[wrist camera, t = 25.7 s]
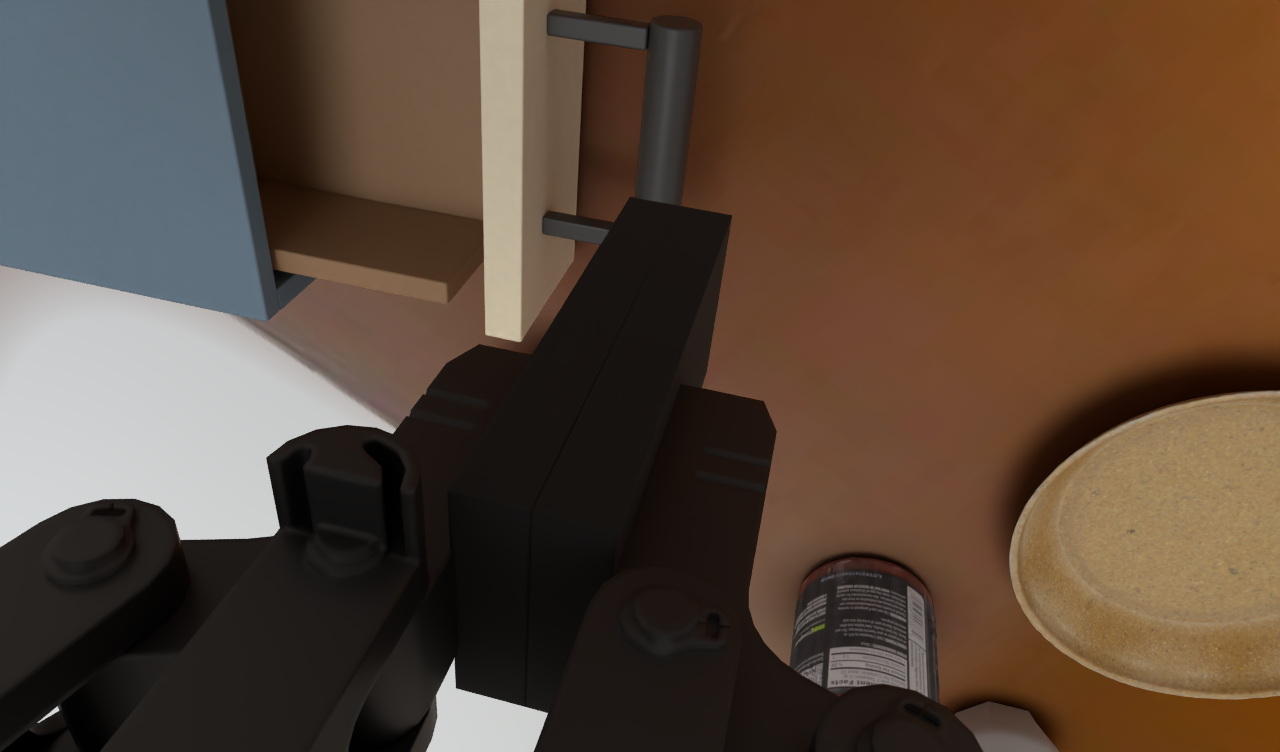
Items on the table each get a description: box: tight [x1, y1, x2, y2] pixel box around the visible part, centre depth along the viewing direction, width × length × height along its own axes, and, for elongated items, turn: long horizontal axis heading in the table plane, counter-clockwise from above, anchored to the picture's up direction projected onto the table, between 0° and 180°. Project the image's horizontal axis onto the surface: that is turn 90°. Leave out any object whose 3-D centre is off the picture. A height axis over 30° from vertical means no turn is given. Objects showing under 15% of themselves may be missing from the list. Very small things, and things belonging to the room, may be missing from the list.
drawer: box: [225, 0, 703, 342], centre depth 27 cm, size 17×12×6 cm
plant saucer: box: [1009, 390, 1280, 699], centre depth 32 cm, size 15×15×3 cm
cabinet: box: [0, 0, 316, 321], centre depth 29 cm, size 14×14×8 cm
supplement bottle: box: [790, 557, 940, 704], centre depth 35 cm, size 6×6×11 cm
